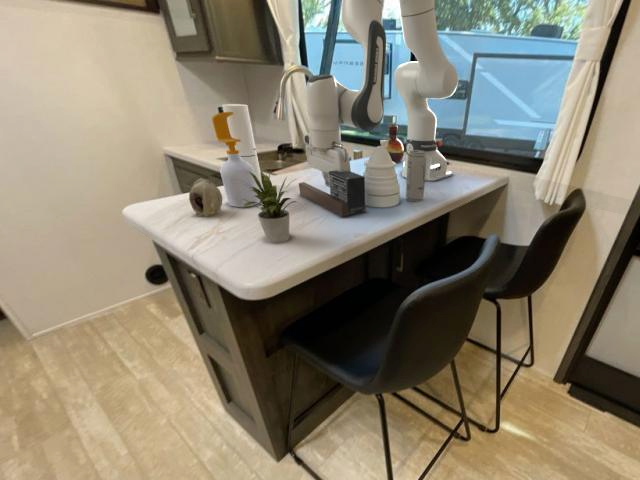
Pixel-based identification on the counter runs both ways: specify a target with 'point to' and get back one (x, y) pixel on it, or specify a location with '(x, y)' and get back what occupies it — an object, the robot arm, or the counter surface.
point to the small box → (349, 190)
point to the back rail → (324, 199)
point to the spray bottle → (234, 167)
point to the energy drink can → (416, 175)
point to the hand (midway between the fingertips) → (330, 186)
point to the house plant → (271, 209)
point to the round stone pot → (205, 198)
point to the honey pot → (381, 179)
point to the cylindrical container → (243, 135)
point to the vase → (394, 145)
